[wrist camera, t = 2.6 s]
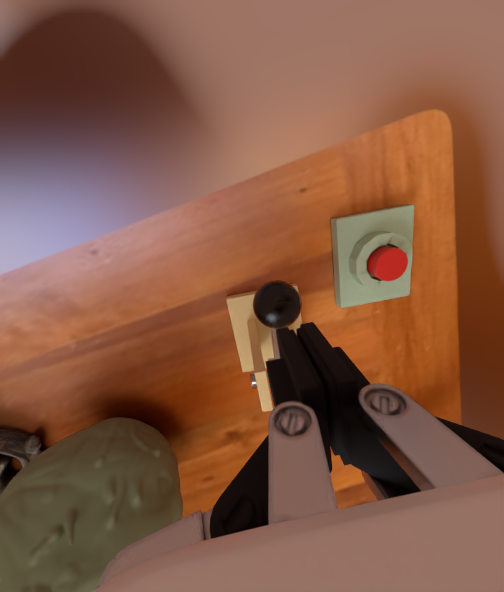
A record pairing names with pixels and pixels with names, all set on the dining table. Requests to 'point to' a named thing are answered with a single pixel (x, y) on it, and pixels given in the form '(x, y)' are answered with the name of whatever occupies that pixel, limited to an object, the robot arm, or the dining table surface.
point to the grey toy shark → (16, 450)
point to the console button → (387, 263)
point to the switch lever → (277, 308)
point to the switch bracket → (254, 342)
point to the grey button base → (361, 244)
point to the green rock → (85, 506)
